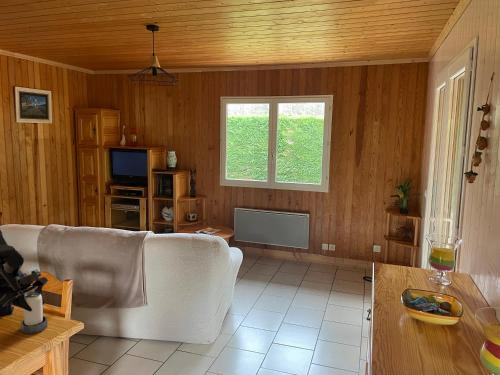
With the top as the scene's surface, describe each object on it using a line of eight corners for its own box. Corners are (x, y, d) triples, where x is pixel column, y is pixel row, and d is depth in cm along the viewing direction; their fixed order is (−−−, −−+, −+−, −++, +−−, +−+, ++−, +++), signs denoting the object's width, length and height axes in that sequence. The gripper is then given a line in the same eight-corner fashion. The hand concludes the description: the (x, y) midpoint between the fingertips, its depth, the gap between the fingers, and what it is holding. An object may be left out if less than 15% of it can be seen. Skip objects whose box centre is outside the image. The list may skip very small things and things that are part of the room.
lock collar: (22, 324, 153) (22, 317, 153) (48, 320, 157) (48, 314, 157) (19, 335, 145) (19, 328, 145) (46, 331, 149) (46, 324, 148)
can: (34, 327, 147) (33, 299, 145) (20, 324, 148) (19, 296, 146) (46, 319, 153) (45, 292, 151) (33, 317, 154) (32, 289, 153)
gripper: (4, 274, 139) (28, 307, 138) (44, 258, 157) (66, 287, 156) (-11, 290, 142) (13, 322, 141) (29, 273, 160) (51, 301, 159)
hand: (37, 307), depth 149 cm, fingers closed on can, 6 cm apart
